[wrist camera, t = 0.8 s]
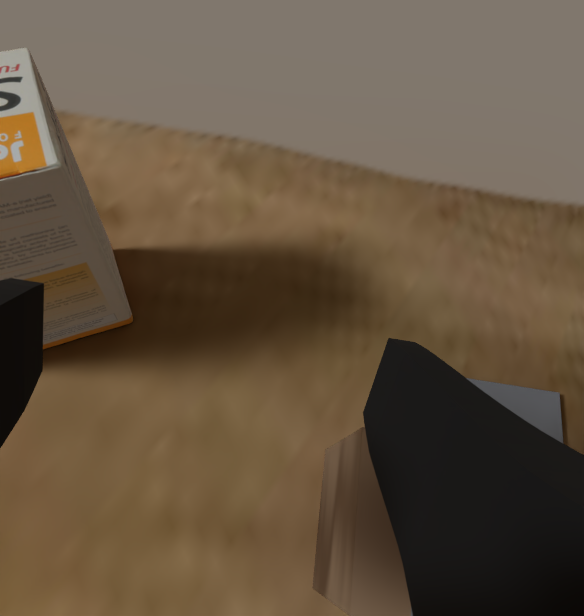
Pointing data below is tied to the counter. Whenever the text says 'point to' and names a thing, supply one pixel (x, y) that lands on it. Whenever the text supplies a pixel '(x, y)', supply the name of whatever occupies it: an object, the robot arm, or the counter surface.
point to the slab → (357, 537)
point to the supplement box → (51, 213)
